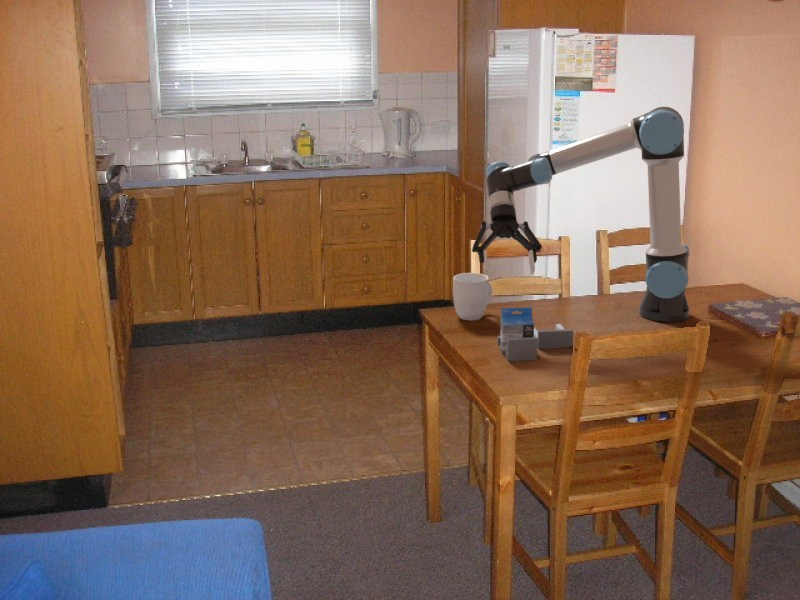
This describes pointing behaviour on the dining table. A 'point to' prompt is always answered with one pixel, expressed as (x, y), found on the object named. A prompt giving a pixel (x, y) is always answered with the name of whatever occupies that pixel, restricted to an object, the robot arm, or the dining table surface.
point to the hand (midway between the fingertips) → (509, 271)
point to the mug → (471, 295)
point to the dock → (554, 337)
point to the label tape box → (515, 325)
